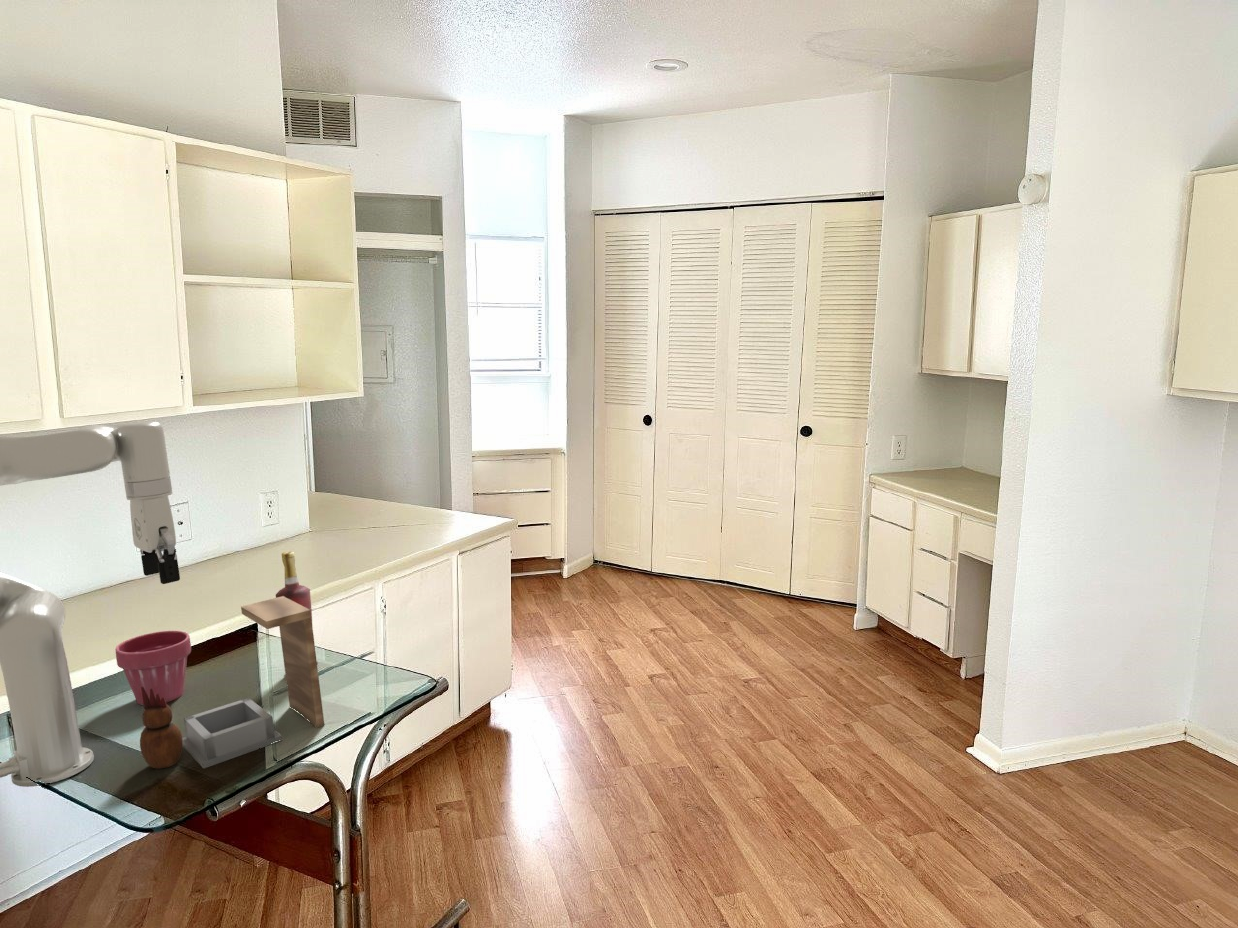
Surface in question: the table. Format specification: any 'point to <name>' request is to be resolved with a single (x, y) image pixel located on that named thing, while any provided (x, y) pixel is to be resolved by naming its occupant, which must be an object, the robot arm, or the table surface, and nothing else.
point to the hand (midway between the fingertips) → (161, 577)
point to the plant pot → (155, 663)
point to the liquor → (294, 584)
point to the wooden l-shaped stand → (294, 652)
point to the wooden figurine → (159, 733)
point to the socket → (228, 732)
